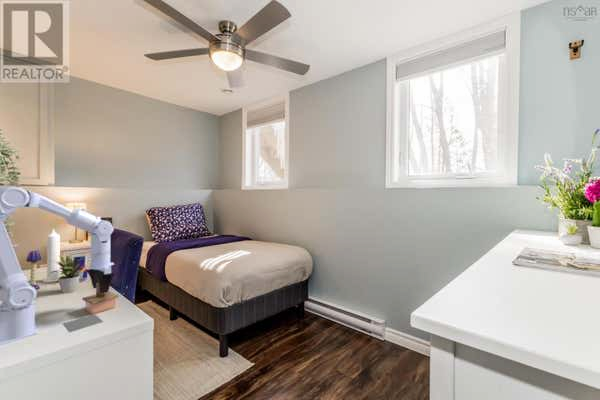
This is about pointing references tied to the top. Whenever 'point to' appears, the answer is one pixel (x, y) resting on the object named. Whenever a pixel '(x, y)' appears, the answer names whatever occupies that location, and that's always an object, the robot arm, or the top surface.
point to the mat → (82, 323)
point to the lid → (99, 296)
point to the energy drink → (84, 266)
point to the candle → (53, 257)
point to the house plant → (68, 275)
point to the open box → (100, 306)
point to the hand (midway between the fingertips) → (100, 289)
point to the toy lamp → (33, 266)
